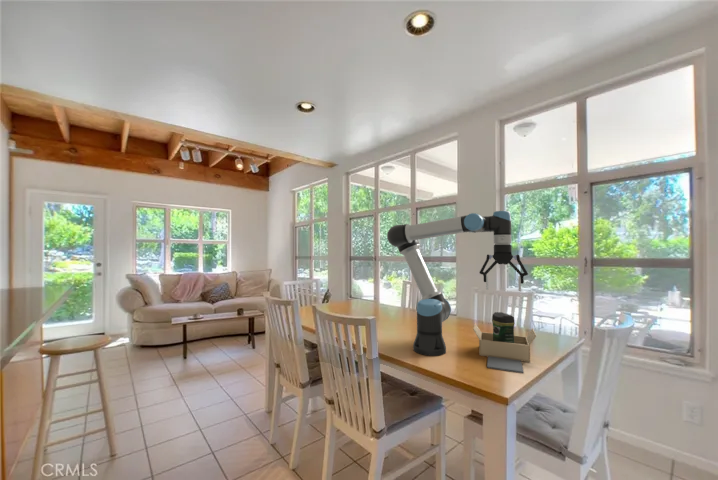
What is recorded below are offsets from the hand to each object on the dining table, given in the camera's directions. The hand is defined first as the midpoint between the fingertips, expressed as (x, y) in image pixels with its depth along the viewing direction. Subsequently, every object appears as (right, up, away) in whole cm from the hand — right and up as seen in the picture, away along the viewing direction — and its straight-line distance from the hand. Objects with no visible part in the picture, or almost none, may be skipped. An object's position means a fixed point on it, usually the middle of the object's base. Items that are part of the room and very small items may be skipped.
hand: (503, 290), depth 141 cm
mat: (-6, -29, -14) cm, 33 cm away
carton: (0, -29, -1) cm, 29 cm away
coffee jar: (0, -29, -1) cm, 29 cm away
